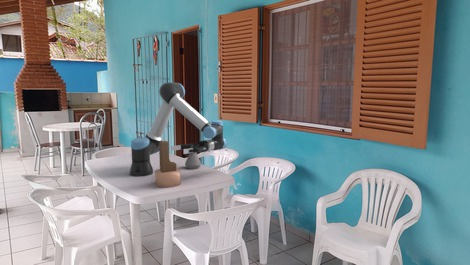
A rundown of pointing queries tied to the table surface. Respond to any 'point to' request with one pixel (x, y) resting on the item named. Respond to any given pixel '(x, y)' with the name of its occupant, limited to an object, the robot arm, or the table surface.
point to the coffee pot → (193, 161)
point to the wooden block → (165, 158)
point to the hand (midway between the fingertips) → (177, 150)
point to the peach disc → (167, 178)
